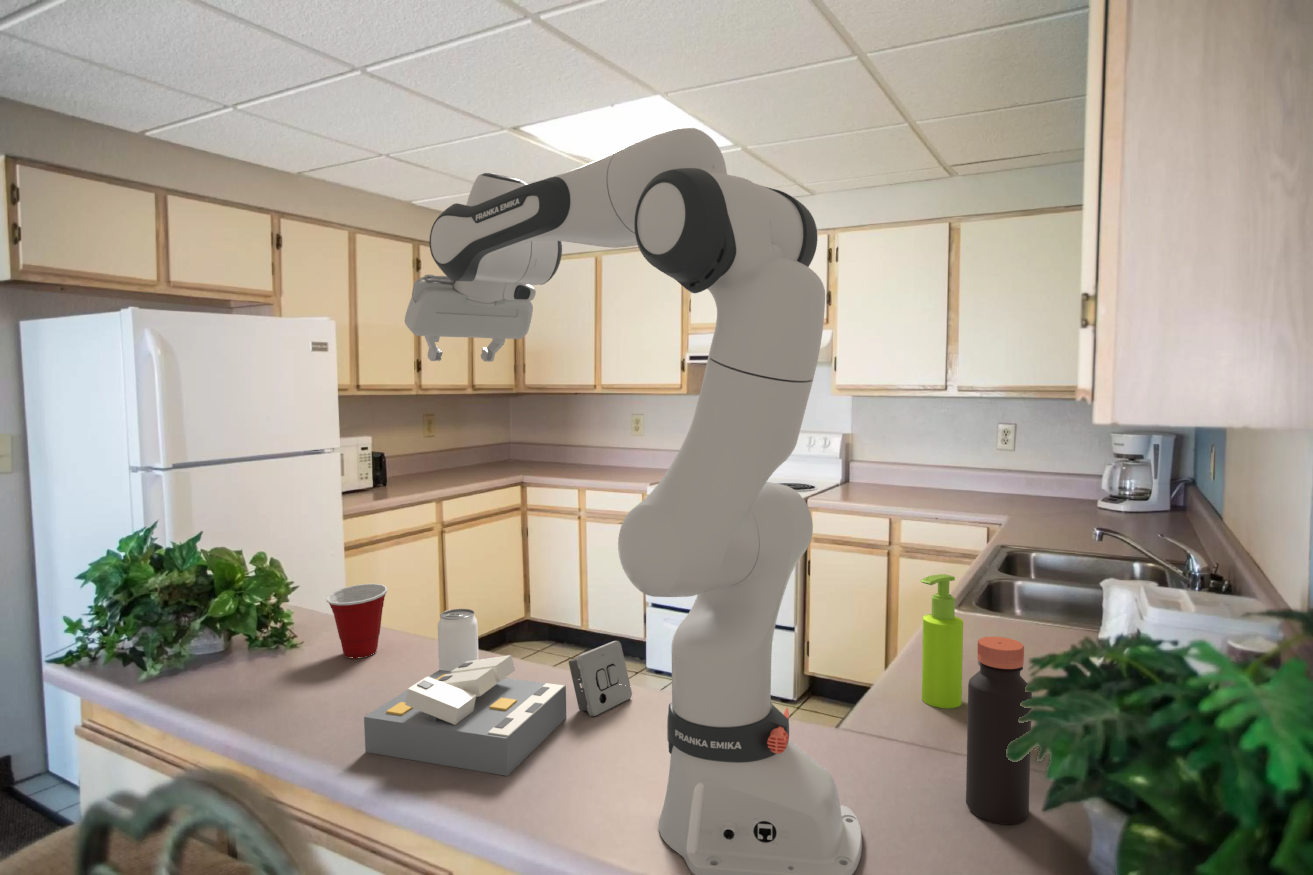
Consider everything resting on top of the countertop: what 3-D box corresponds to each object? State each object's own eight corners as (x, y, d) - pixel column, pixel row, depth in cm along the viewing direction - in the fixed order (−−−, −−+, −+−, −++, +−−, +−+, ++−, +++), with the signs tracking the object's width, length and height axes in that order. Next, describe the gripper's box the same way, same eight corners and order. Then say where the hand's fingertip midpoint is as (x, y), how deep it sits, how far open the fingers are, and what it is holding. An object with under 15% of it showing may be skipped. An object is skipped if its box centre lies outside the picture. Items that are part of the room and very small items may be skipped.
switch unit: (566, 717, 117) (565, 680, 116) (507, 775, 100) (506, 733, 99) (440, 700, 124) (439, 665, 123) (365, 751, 107) (363, 711, 106)
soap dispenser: (908, 698, 122) (910, 574, 121) (940, 690, 125) (942, 568, 124) (937, 712, 117) (940, 583, 116) (969, 703, 120) (972, 577, 119)
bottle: (959, 814, 90) (963, 646, 88) (972, 788, 96) (975, 630, 94) (1023, 832, 86) (1028, 657, 85) (1033, 804, 92) (1037, 639, 90)
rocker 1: (473, 710, 108) (476, 694, 107) (455, 724, 103) (458, 707, 103) (424, 691, 110) (427, 675, 109) (405, 704, 106) (408, 687, 105)
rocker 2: (496, 683, 112) (492, 666, 112) (480, 696, 108) (476, 678, 108) (450, 689, 115) (446, 673, 115) (432, 701, 111) (428, 684, 111)
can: (470, 691, 127) (467, 620, 126) (432, 689, 128) (430, 618, 127) (484, 676, 133) (483, 608, 132) (449, 674, 134) (447, 607, 134)
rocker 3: (514, 670, 118) (511, 653, 118) (500, 681, 113) (496, 664, 113) (470, 676, 120) (466, 660, 120) (454, 687, 116) (450, 670, 116)
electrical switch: (593, 719, 116) (587, 657, 116) (568, 713, 120) (563, 653, 120) (633, 698, 124) (628, 641, 124) (609, 693, 127) (604, 637, 127)
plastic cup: (316, 655, 144) (313, 592, 144) (368, 640, 153) (366, 580, 152) (349, 668, 138) (346, 602, 137) (401, 651, 146) (399, 588, 146)
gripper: (425, 282, 110) (407, 368, 116) (544, 292, 124) (523, 369, 129) (407, 265, 114) (390, 349, 119) (525, 276, 128) (505, 351, 133)
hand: (460, 359), depth 125 cm, fingers open, 8 cm apart
